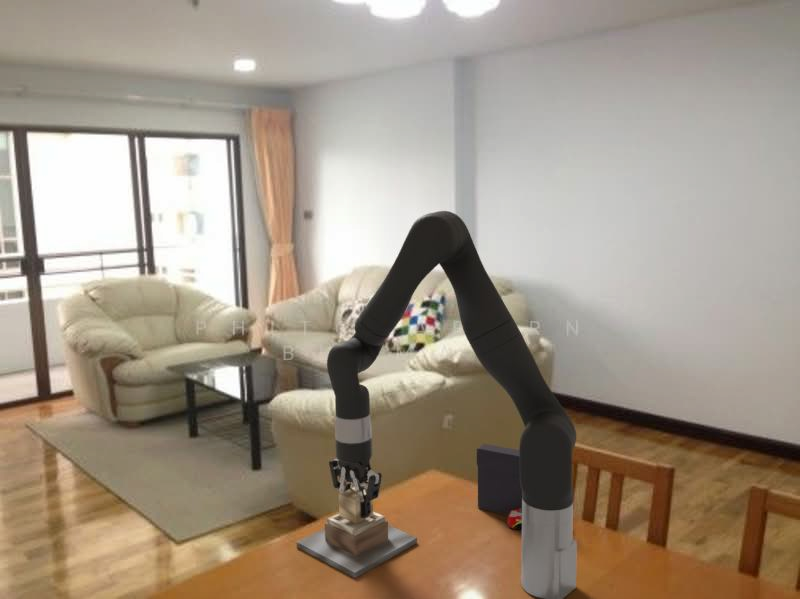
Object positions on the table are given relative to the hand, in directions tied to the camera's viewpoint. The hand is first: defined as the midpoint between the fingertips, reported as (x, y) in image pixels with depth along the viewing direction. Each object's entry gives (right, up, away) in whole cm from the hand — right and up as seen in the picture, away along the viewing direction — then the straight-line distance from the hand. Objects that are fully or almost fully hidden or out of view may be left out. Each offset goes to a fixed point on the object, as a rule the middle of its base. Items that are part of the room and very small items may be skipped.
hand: (356, 512), depth 146 cm
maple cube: (0, -1, 0) cm, 1 cm away
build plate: (0, -7, +1) cm, 7 cm away
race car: (+40, -6, +8) cm, 41 cm away
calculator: (+33, -4, +15) cm, 37 cm away
